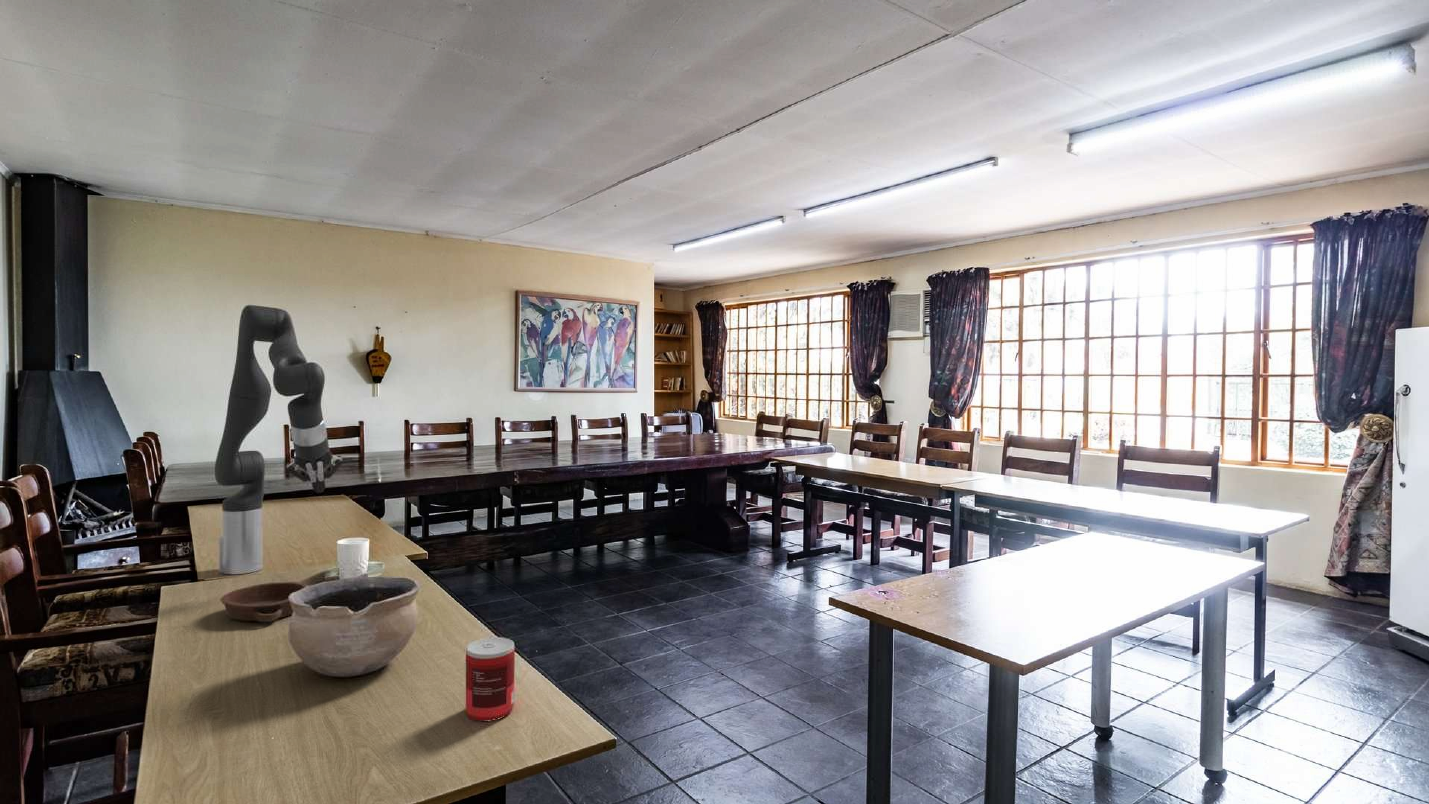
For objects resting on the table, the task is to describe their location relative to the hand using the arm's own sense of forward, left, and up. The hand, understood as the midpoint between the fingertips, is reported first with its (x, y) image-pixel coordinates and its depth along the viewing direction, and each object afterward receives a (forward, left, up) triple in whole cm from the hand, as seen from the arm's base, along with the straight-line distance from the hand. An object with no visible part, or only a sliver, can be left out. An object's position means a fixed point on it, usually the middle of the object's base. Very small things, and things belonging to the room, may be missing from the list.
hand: (319, 490), depth 184 cm
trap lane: (+4, 0, -25) cm, 25 cm away
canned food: (+72, -63, -25) cm, 99 cm away
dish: (+2, -22, -25) cm, 34 cm away
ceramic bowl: (+40, -49, -25) cm, 68 cm away
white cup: (+5, +7, -25) cm, 26 cm away
